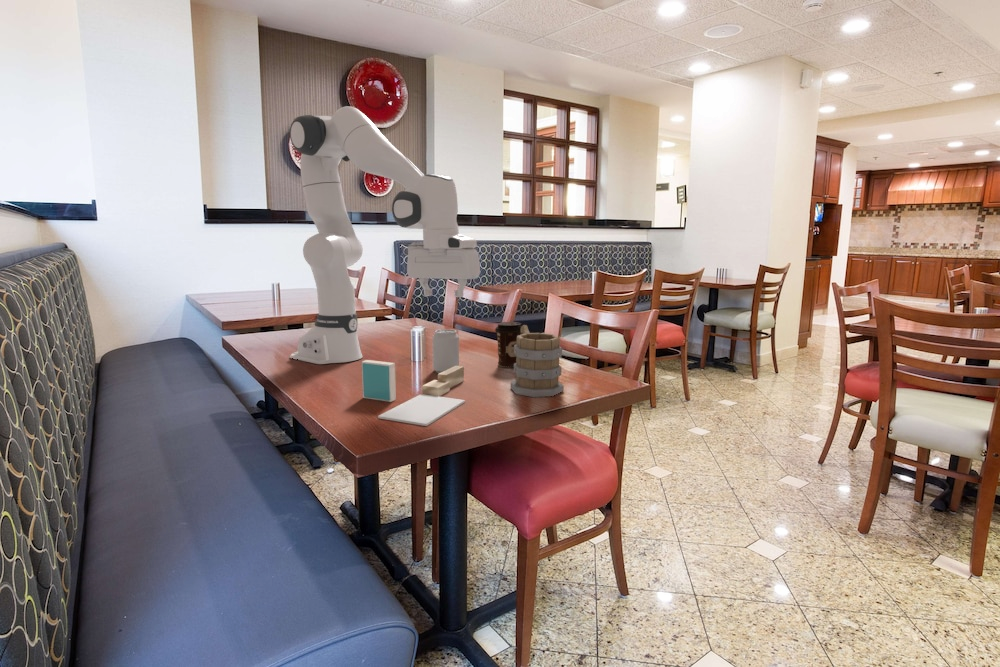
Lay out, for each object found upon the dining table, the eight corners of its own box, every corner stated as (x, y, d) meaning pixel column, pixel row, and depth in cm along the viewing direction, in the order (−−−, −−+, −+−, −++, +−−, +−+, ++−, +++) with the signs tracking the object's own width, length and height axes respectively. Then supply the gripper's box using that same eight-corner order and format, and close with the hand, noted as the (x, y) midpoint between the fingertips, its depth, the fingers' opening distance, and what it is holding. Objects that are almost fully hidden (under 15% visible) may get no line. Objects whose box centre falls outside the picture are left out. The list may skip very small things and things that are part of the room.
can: (457, 374, 155) (457, 332, 153) (431, 374, 155) (430, 332, 153) (460, 368, 163) (460, 328, 160) (434, 367, 163) (434, 327, 160)
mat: (377, 418, 119) (377, 416, 118) (421, 395, 135) (421, 393, 135) (426, 426, 114) (426, 423, 114) (465, 402, 130) (465, 400, 130)
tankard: (568, 396, 136) (570, 336, 134) (518, 398, 134) (519, 337, 131) (545, 375, 156) (547, 323, 153) (501, 377, 153) (502, 324, 150)
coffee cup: (528, 364, 168) (529, 322, 165) (515, 370, 161) (515, 326, 158) (503, 361, 172) (504, 320, 170) (489, 366, 165) (489, 323, 163)
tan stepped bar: (422, 395, 136) (422, 379, 135) (452, 379, 150) (452, 365, 150) (438, 397, 134) (438, 381, 133) (467, 381, 149) (467, 366, 148)
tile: (362, 398, 133) (361, 361, 131) (368, 395, 135) (366, 359, 133) (390, 402, 130) (389, 365, 128) (395, 399, 132) (394, 363, 130)
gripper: (400, 242, 140) (403, 296, 142) (468, 240, 130) (470, 299, 132) (415, 241, 145) (418, 293, 147) (482, 240, 135) (483, 296, 138)
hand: (443, 296), depth 140 cm, fingers open, 8 cm apart
